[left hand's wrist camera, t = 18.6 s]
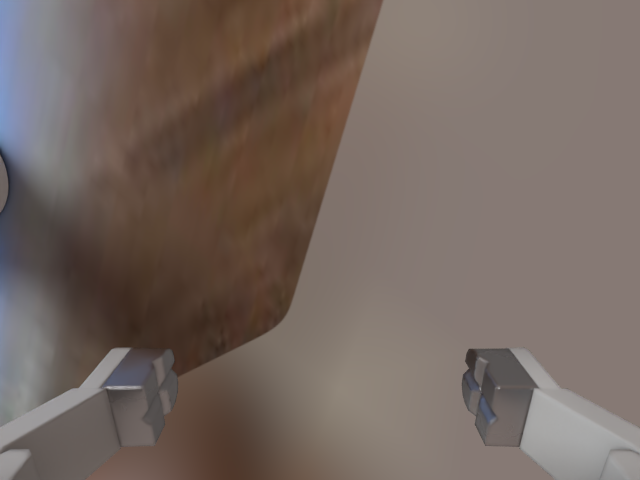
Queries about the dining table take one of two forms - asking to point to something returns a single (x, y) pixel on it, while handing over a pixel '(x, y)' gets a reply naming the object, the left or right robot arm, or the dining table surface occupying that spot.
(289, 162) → the dining table surface
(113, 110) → the dining table surface
